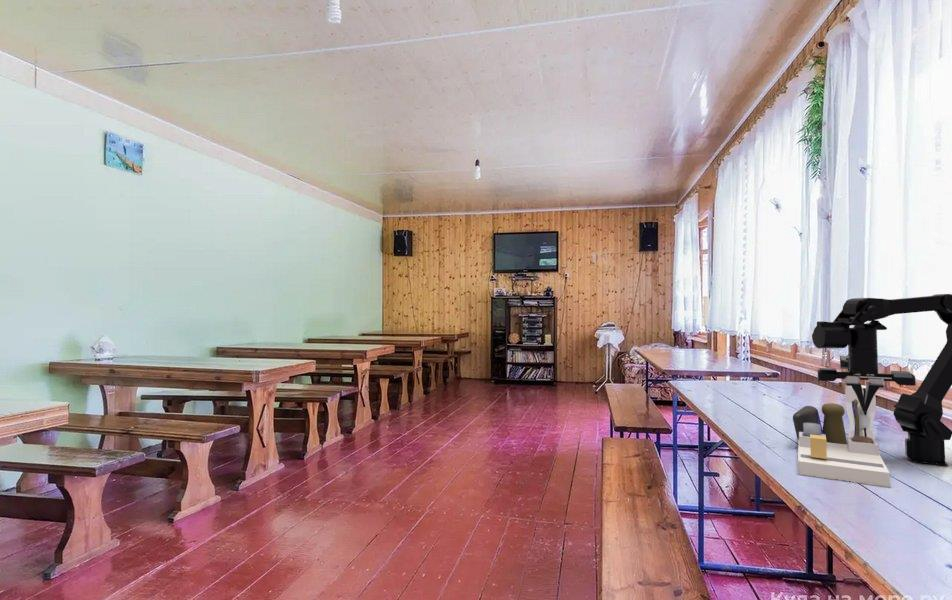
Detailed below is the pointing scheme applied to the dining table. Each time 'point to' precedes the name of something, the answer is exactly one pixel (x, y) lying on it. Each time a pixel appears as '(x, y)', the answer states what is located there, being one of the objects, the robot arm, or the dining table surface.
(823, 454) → the tan wooden brick
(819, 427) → the grey button
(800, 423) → the leaning round-cornered charcoal block
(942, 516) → the dining table surface
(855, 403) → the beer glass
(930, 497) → the dining table surface
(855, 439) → the walnut button
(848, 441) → the control panel
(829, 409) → the olive knobbed pillar
